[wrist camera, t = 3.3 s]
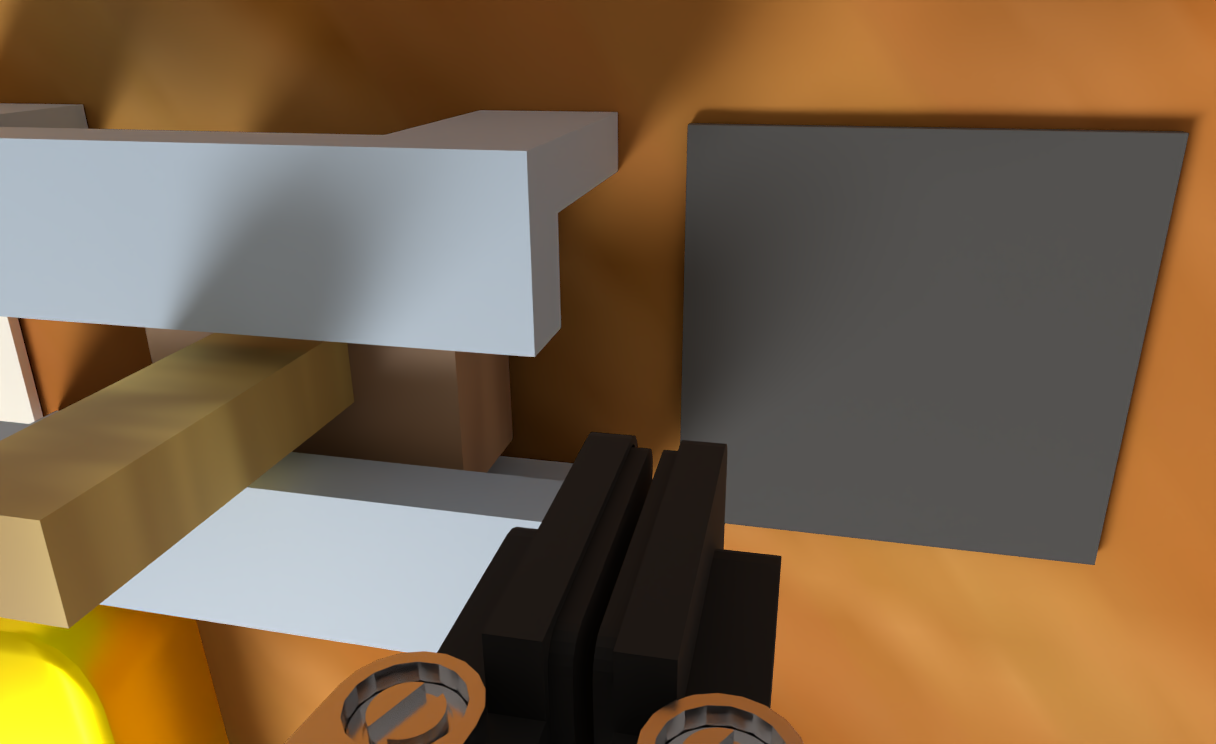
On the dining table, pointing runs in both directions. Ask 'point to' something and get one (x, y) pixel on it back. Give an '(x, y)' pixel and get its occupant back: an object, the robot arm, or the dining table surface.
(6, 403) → the tile
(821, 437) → the pad
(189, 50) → the dining table surface
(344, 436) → the tan boxy piece
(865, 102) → the dining table surface
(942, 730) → the dining table surface
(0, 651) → the element tile
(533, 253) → the tunnel
